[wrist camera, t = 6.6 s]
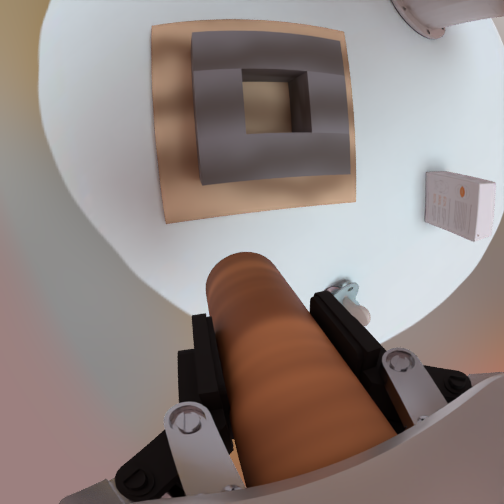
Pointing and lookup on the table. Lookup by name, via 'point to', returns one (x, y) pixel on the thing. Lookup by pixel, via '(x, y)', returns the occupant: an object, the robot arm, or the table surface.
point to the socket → (251, 117)
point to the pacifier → (351, 302)
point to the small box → (460, 204)
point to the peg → (284, 377)
